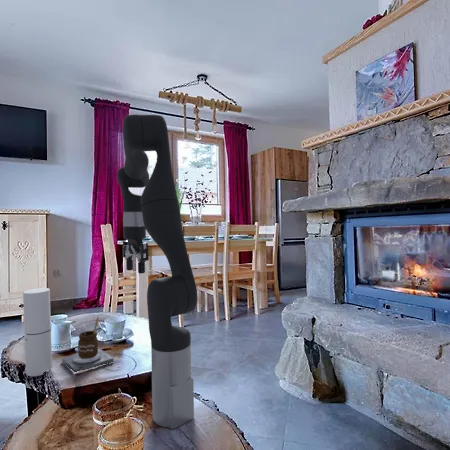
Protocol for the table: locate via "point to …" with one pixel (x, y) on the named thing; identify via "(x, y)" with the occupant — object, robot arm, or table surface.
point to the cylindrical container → (37, 331)
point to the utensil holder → (88, 343)
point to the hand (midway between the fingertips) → (135, 271)
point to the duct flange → (87, 361)
